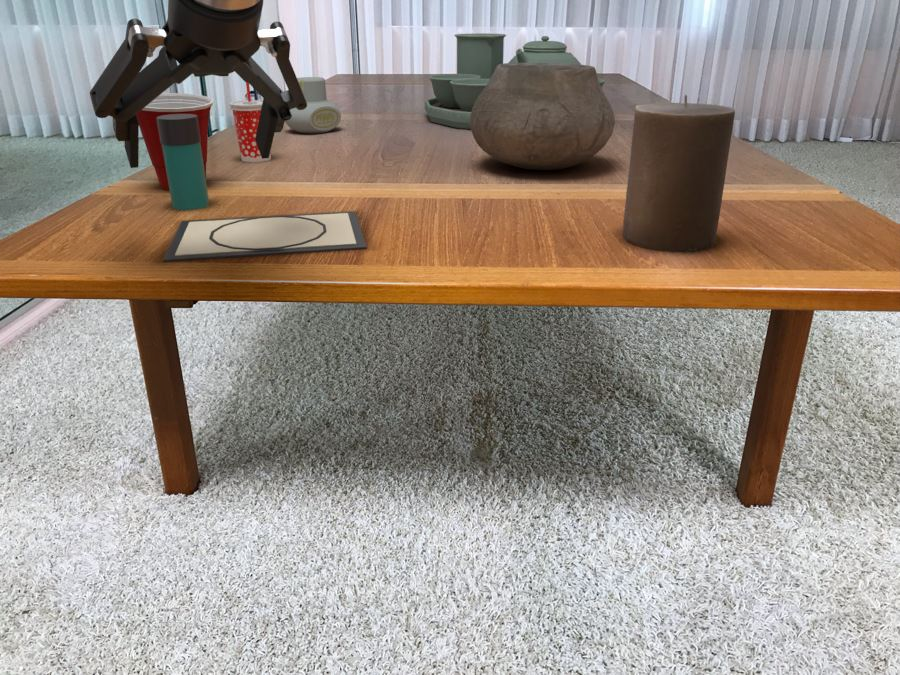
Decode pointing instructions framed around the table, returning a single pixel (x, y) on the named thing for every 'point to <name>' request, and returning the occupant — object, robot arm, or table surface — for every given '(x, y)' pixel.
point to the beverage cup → (248, 127)
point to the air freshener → (314, 109)
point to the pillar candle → (677, 175)
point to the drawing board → (265, 236)
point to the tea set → (483, 73)
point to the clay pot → (542, 115)
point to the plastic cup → (167, 106)
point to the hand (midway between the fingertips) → (199, 153)
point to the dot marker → (183, 160)
